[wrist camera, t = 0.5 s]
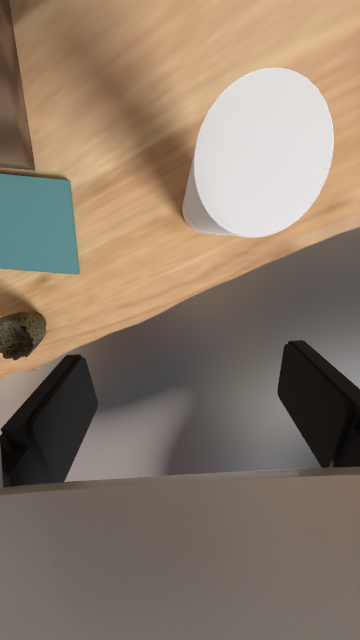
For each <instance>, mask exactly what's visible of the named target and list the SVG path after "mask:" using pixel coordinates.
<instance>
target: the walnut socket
mask: <svg viewBox="0 0 360 640" xmlns="http://www.w3.org/2000/svg"><path fill="white" fill-rule="evenodd" d="M0 167H4V168H14V169H25V170H35V165H34V158H33V152H32V146H31V139H30V133H29V127H28V120H27V114H26V107H25V101H24V95H23V88H22V82H21V76H20V69H19V63H18V56H17V50H16V44H15V37H14V31H13V25H12V18H11V12H10V5H9V0H0Z"/></svg>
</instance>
